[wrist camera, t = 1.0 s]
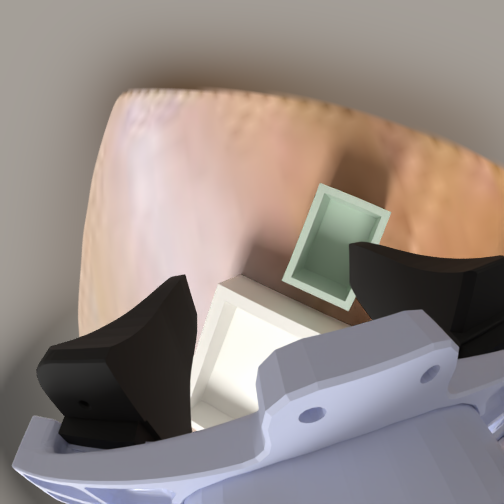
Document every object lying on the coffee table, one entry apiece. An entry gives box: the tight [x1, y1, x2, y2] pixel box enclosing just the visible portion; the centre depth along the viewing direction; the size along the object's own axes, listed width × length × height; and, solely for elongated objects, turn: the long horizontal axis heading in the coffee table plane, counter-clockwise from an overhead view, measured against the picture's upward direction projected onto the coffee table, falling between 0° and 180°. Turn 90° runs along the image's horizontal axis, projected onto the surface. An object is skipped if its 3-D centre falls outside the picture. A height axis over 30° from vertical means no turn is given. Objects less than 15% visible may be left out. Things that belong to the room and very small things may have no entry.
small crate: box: [282, 183, 391, 311], centre depth 20 cm, size 5×7×5 cm
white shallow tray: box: [190, 275, 351, 431], centre depth 23 cm, size 14×16×4 cm
